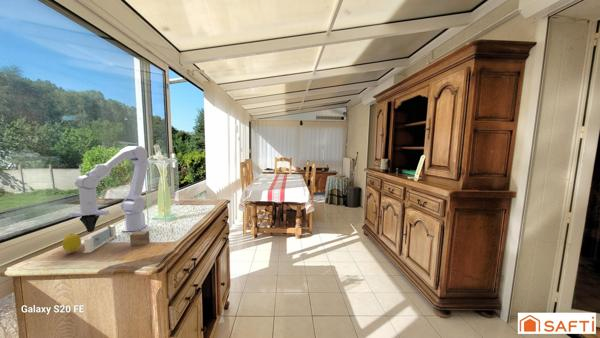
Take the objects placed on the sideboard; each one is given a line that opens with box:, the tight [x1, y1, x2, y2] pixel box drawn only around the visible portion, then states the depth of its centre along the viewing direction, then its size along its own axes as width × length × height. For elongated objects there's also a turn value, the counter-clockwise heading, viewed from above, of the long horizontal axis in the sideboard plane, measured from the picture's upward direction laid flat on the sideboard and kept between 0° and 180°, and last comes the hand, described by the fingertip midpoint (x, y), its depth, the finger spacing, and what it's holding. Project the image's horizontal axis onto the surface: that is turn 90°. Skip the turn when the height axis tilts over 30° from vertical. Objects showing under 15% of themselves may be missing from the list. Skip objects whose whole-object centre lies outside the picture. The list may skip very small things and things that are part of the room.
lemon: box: [61, 233, 82, 253], centre depth 96 cm, size 6×6×8 cm
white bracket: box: [83, 224, 117, 254], centre depth 105 cm, size 18×2×5 cm, turn 11°
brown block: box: [129, 230, 150, 247], centre depth 105 cm, size 4×6×5 cm, turn 101°
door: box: [90, 225, 111, 247], centre depth 105 cm, size 12×2×5 cm, turn 11°
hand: (91, 231), depth 106 cm, fingers closed
